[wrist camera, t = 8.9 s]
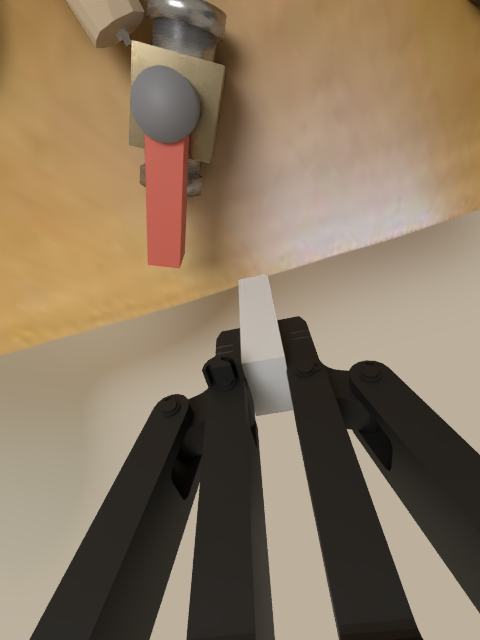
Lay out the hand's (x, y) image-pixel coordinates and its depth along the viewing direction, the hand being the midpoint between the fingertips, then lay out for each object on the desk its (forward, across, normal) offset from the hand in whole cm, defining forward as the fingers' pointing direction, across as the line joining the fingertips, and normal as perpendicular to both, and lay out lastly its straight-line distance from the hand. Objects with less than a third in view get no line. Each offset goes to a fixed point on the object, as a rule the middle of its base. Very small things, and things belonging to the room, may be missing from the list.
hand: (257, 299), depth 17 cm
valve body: (+23, +4, -10) cm, 25 cm away
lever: (+15, +6, -5) cm, 17 cm away
